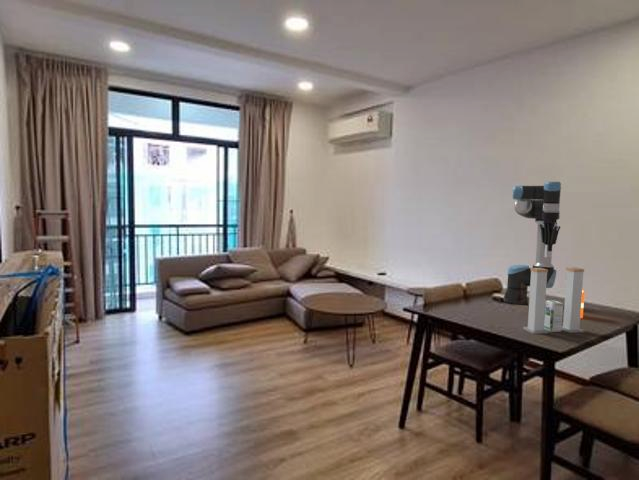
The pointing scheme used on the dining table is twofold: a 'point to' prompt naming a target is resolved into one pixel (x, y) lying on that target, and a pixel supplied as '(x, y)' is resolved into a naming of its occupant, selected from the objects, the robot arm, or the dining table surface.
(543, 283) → the post
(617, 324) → the dining table surface
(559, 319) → the syrup box
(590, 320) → the dining table surface
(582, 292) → the orange juice
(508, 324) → the dining table surface
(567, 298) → the post
